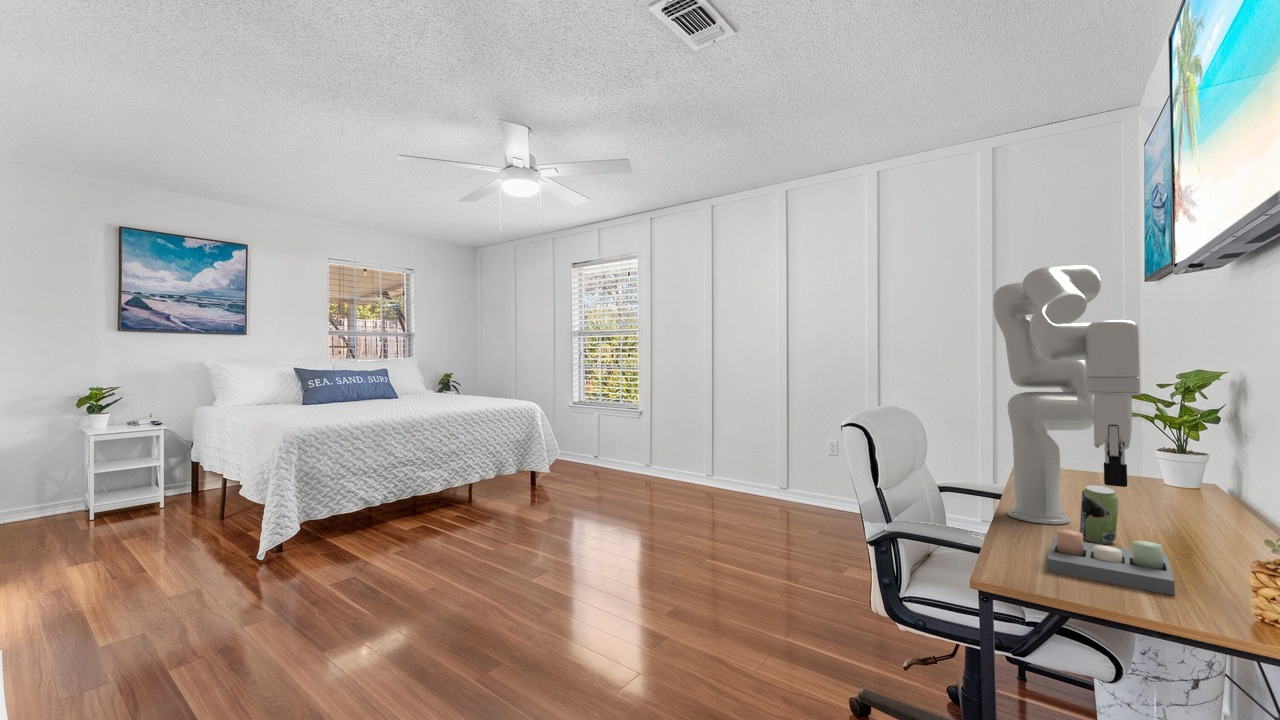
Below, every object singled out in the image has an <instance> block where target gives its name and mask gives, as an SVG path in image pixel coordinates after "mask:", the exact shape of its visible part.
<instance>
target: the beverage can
mask: <svg viewBox="0 0 1280 720" xmlns="http://www.w3.org/2000/svg"><path fill="white" fill-rule="evenodd" d="M1080 504H1081V505H1080V507H1081V508H1080V521H1079V522H1080V524H1079V532H1080V533H1082V534H1083V538H1085V540H1087V541H1089V542H1091V543H1094V544H1100V545H1104V544H1105V545H1108V544H1110V543H1113V542H1115V541H1117V540H1116V539H1117V526H1118V525H1117V524H1118V511H1119V496H1118V494H1117V493H1116V490H1115V489H1113V488H1112V487H1108V486H1105V485H1100V484H1099V485H1098V484H1089V485H1088V484H1087V485H1086V486H1085V488H1084V489H1083V490H1082V491H1081V503H1080Z"/></svg>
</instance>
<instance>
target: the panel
mask: <svg viewBox="0 0 1280 720" xmlns="http://www.w3.org/2000/svg"><path fill="white" fill-rule="evenodd" d="M1098 545H1100V546H1107V544H1105V545H1104V544H1101V543H1095V542H1086V541H1083V555H1069V554H1064V553H1061V552H1059V551H1057V537H1053V541H1052V544H1051V546H1050V549H1049V552H1048V555H1047V561H1046V562H1047V564H1046V565H1047V572H1048V573H1053V574H1059V575H1065V576H1068V577H1069V576H1070V577H1075V578H1081V579H1086V580H1090V581H1096V582H1101V583H1102V582H1103V583H1107V584H1111V585H1118V586H1122V587H1128V588H1132V589H1138V588H1140V589H1139V590H1143V589H1145V590H1144V591H1148V590H1150V592H1154V593H1158V594H1159V593H1160V594H1164V593H1165V595H1171V596H1176V591H1175V584H1176V583H1175V578H1174V575H1173V570H1172V567H1171V564H1170V560H1169V556H1168V554H1164V553H1163V568H1161V569H1152V568H1146V567H1142V566H1138V565H1136V564H1134V563H1133V554H1132V548H1125V547H1118V546H1113V545H1108V546H1109V547H1114V548H1117V549H1119V550H1121V551H1122V563H1116V562H1110V561H1104V560H1098V559H1094V551H1093V547H1094V546H1098Z"/></svg>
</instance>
